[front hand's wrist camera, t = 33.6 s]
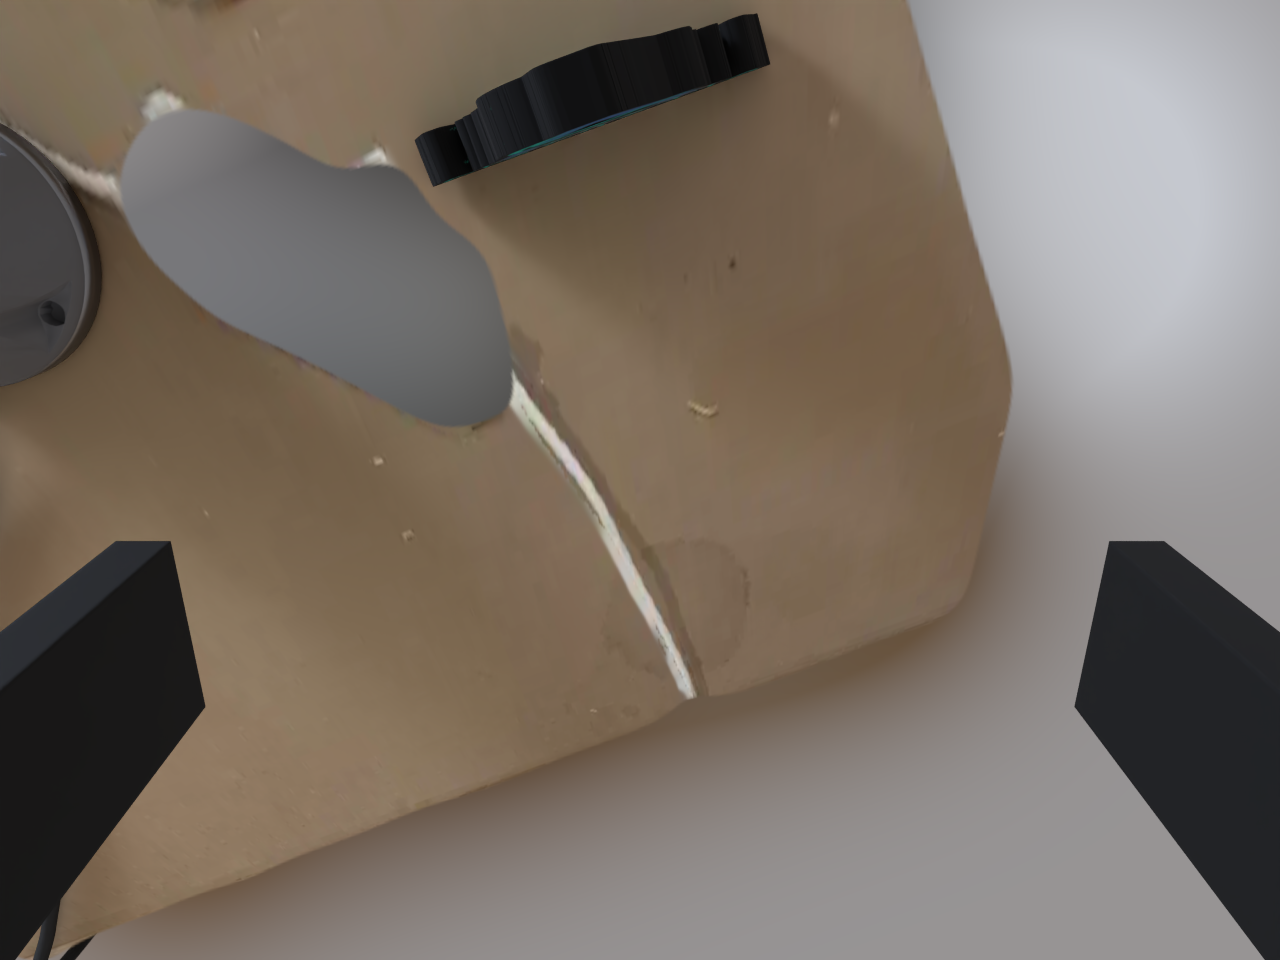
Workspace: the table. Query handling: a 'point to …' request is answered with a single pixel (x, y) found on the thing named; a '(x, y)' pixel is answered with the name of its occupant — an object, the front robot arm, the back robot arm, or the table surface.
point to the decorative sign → (591, 93)
